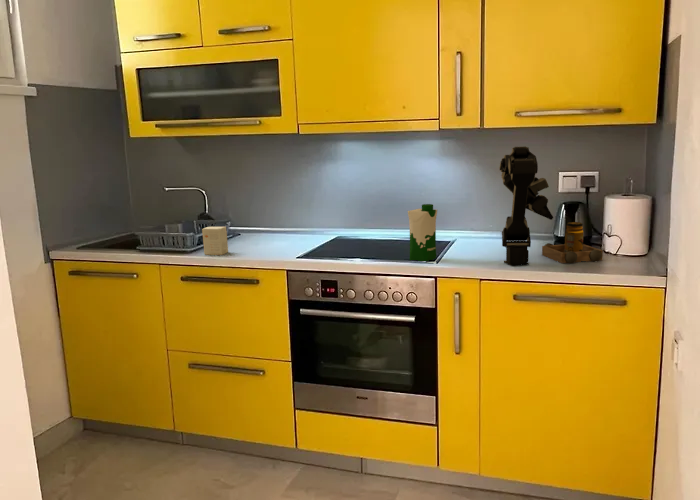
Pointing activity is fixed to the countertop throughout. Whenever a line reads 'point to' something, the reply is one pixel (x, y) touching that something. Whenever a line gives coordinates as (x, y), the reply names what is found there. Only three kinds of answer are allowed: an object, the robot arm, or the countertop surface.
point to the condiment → (574, 237)
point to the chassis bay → (571, 253)
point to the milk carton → (423, 233)
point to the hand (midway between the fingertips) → (548, 216)
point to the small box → (215, 240)
